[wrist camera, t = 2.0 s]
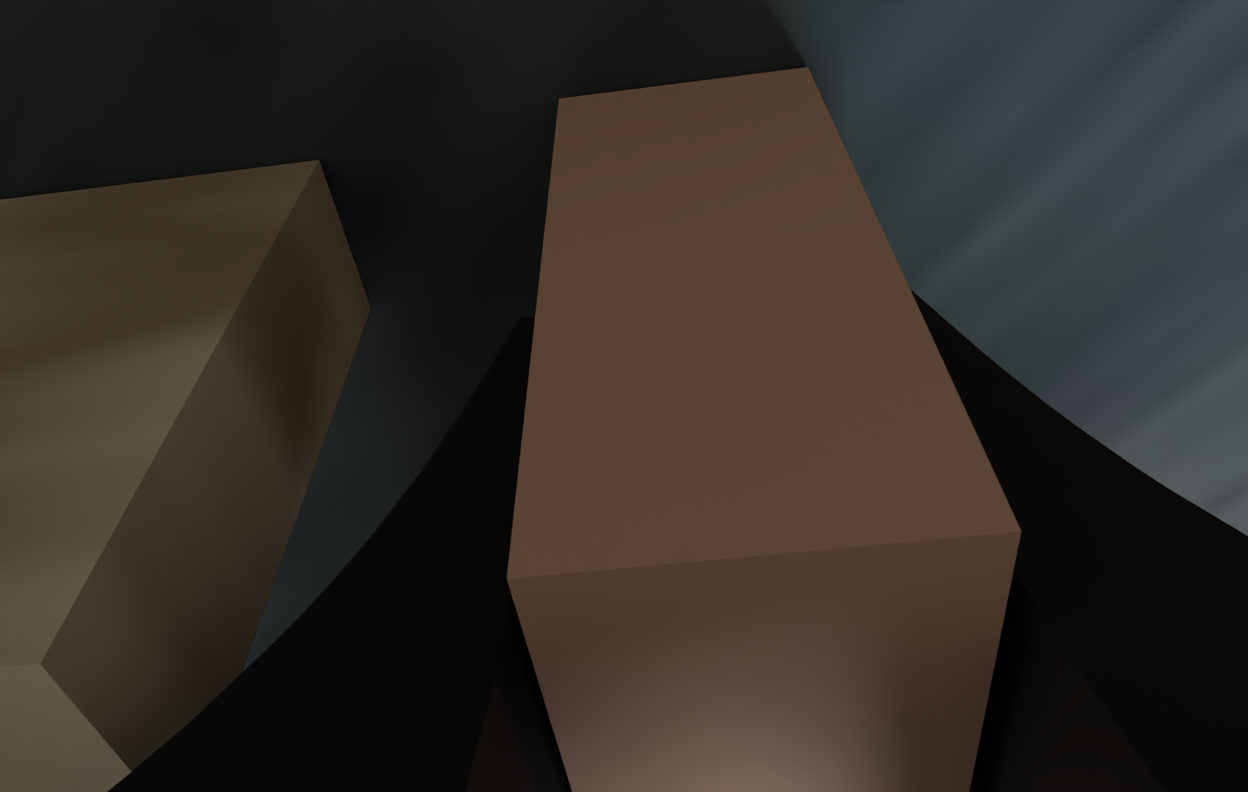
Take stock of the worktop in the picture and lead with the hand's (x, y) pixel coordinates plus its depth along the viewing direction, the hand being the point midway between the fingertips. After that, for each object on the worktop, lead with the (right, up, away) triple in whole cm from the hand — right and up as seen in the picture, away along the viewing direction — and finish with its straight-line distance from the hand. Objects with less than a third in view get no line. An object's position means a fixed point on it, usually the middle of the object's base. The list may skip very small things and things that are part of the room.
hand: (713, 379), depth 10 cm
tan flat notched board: (0, -2, +3) cm, 4 cm away
